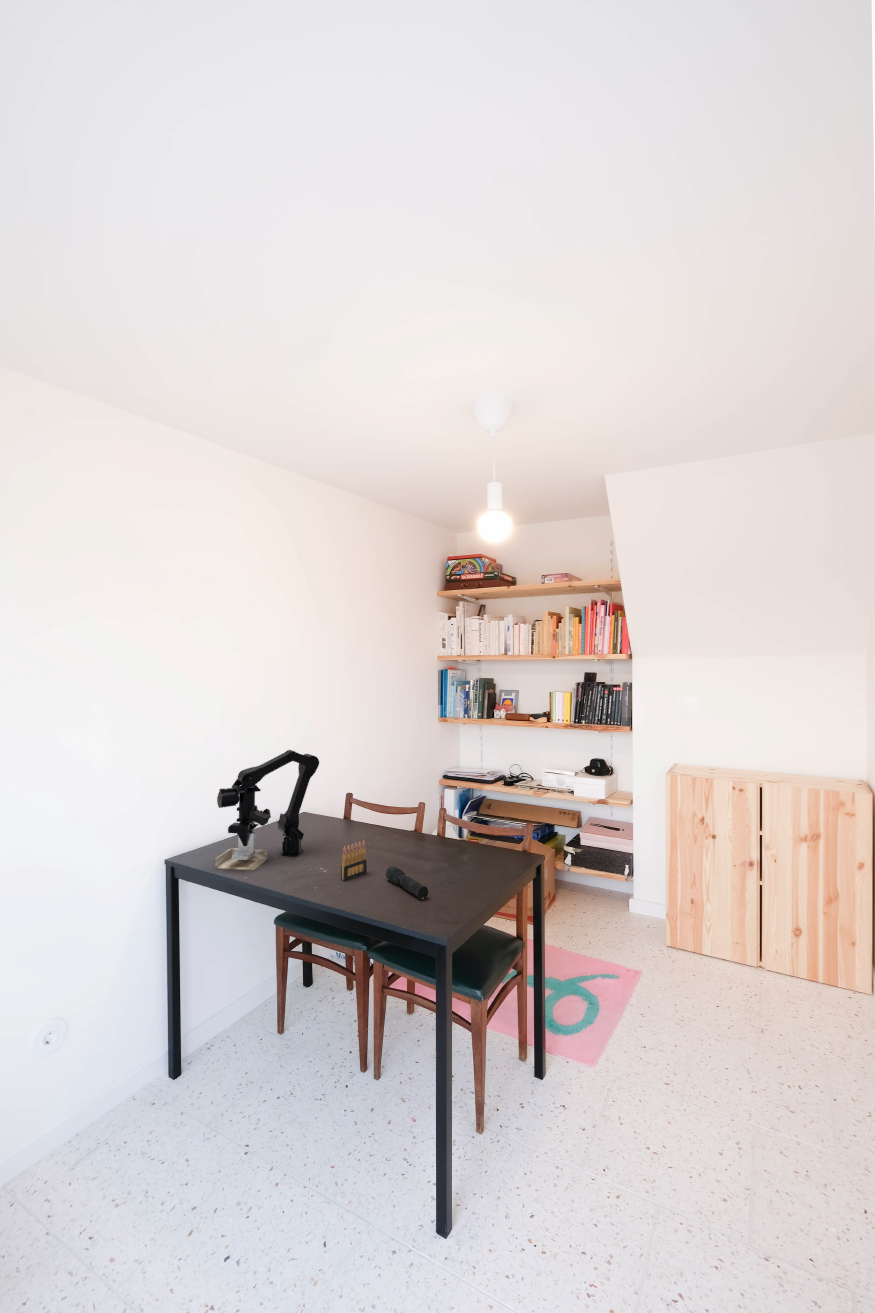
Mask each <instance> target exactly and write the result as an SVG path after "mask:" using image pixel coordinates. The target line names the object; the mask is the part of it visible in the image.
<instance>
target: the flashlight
mask: <svg viewBox="0 0 875 1313" xmlns="http://www.w3.org/2000/svg"><path fill="white" fill-rule="evenodd" d="M385 877H386V878H387V880H388V881H390V882H391V883H393V884H395V885H398V886H401V887H402V888H403V889H405V890H406V891H408V892H409V893H411V894H413V895H414V896H416V897H417V898H418V899H420V900H422V899H421V898H423V897H424V898H425V899H426V898H427V897H428V896H429V890H428V887H427V886H426V885H424V884H422V883H420V882H418V881H417V880H415V879H414V878H413V877H411V876H409V875H406V873H405V872H404V871H403V869H401V868H399V867H397V866H395V865H391V866H389V867H387V869H386V871H385Z"/></svg>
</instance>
